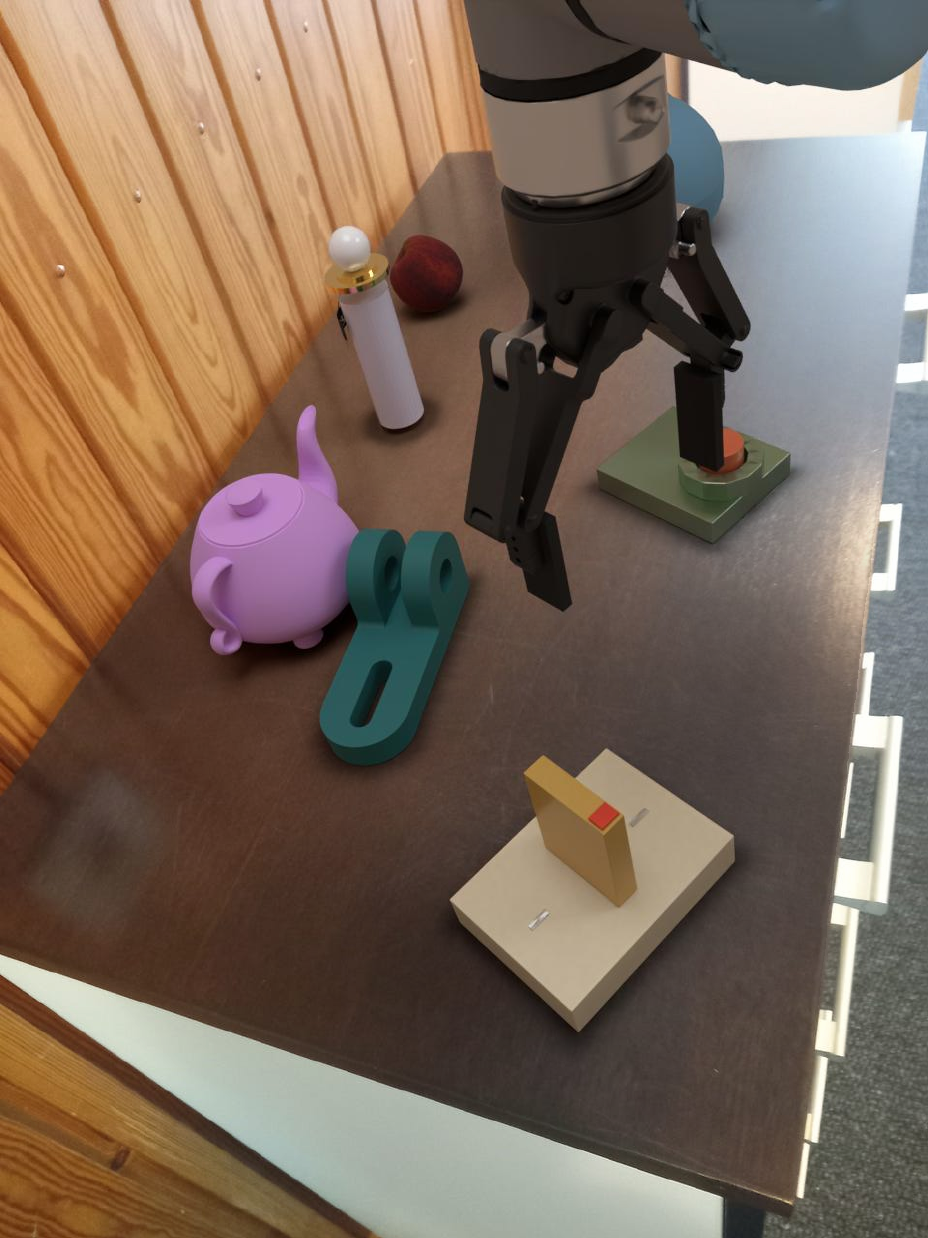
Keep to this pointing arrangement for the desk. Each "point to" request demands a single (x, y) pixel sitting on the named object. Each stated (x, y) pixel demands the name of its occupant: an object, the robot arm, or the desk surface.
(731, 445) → the bell button
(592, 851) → the tan box with red
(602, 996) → the lock plate
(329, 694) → the bracket
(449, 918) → the desk surface
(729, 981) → the desk surface
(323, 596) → the teapot
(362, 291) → the perfume bottle
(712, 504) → the box
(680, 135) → the vase
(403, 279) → the peach
